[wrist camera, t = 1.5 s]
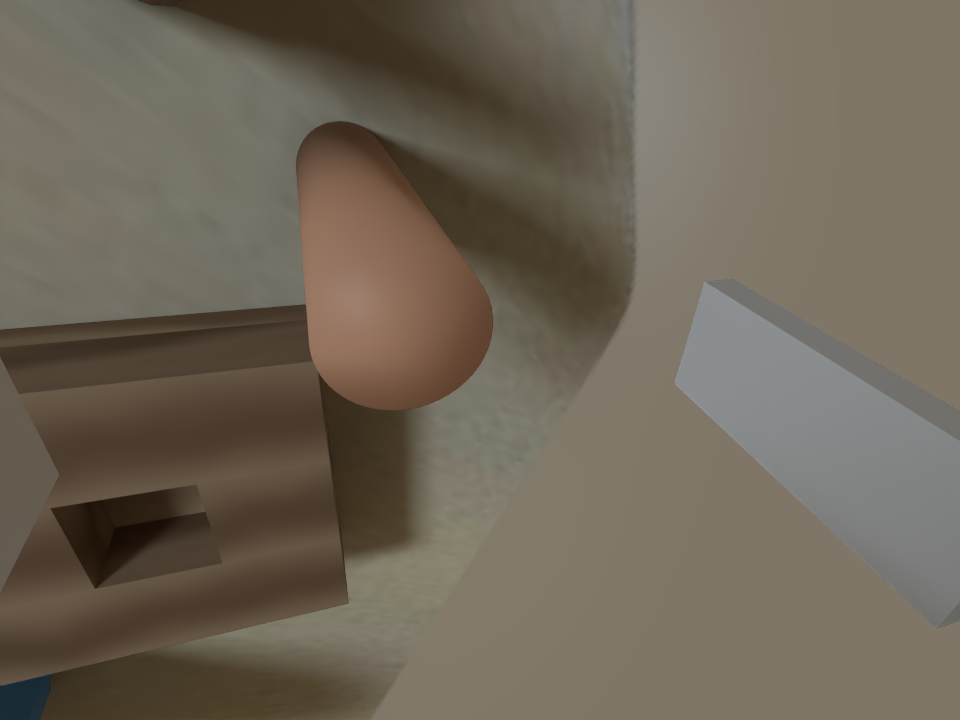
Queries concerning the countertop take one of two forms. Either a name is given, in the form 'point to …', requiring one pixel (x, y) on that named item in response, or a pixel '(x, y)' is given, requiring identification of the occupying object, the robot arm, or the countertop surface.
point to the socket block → (170, 486)
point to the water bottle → (24, 699)
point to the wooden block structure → (161, 2)
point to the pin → (382, 278)
